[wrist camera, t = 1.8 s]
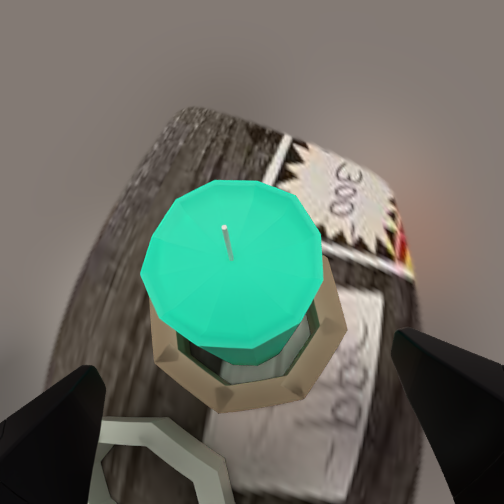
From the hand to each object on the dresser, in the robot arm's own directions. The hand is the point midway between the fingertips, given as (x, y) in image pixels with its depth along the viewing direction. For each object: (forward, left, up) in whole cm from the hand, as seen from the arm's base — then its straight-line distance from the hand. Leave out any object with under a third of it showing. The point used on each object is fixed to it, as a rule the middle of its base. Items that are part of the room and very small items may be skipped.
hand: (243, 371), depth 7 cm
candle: (+2, -3, -11) cm, 11 cm away
